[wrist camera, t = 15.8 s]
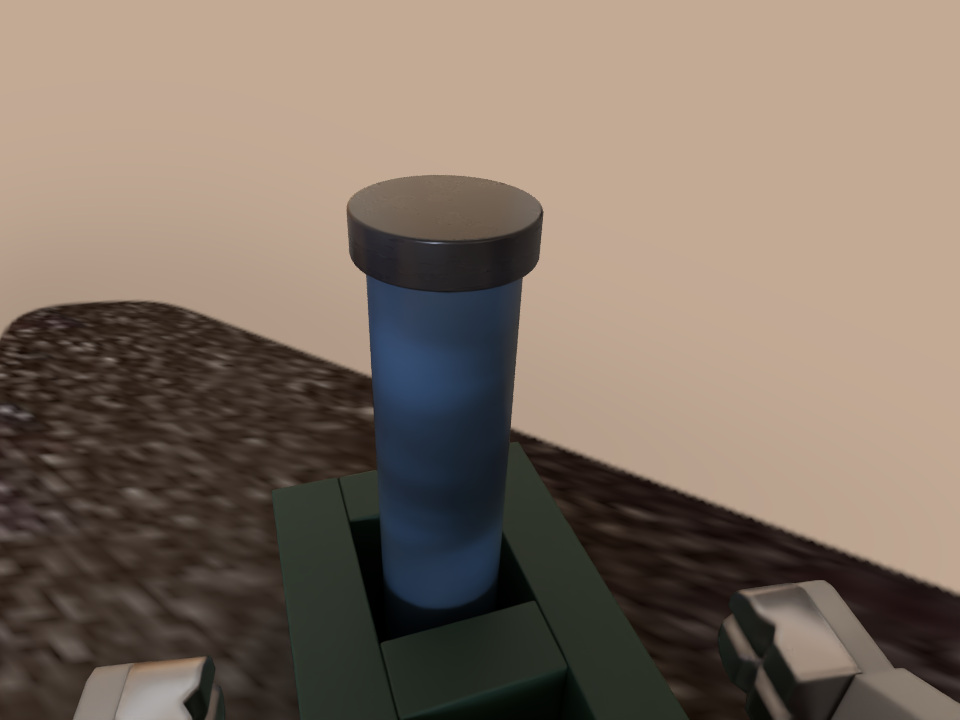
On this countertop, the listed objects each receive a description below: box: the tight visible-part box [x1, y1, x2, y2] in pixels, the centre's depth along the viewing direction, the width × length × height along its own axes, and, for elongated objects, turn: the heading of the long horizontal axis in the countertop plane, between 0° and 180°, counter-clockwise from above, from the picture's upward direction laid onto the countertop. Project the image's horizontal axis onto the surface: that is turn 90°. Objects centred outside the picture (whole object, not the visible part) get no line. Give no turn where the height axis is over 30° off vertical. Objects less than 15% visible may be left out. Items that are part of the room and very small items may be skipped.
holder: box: [272, 442, 689, 720], centre depth 17 cm, size 8×14×5 cm, turn 19°
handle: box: [347, 175, 543, 641], centre depth 17 cm, size 4×4×15 cm
